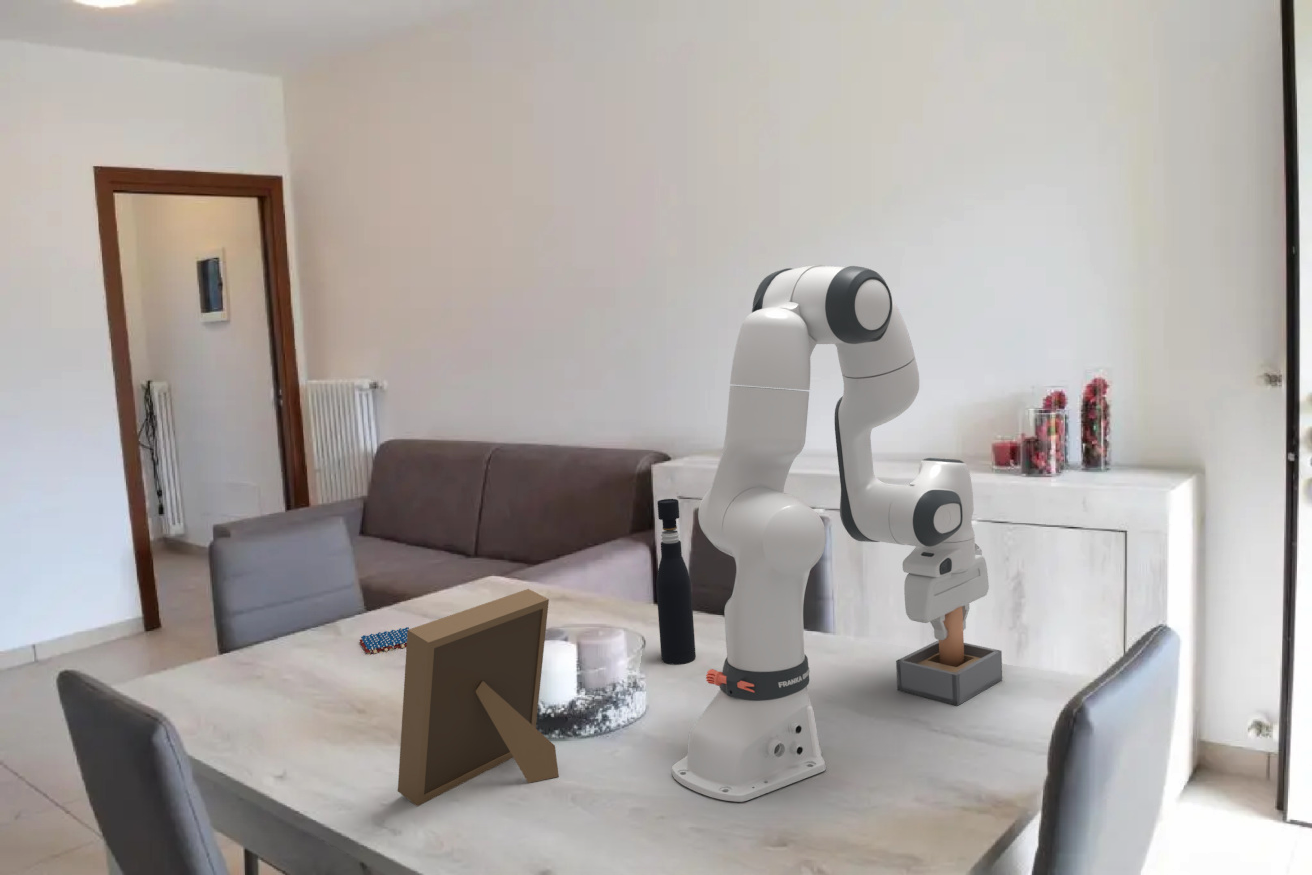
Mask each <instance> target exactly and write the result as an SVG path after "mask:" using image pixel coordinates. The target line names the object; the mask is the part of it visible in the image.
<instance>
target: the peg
mask: <svg viewBox="0 0 1312 875" xmlns="http://www.w3.org/2000/svg"><path fill="white" fill-rule="evenodd" d="M943 623H944V626H945V628H948V635H949V637H948V638H946V639H944V640H939V659H940V664H944V665H949V666H953V667H958V666H960V665H962V664H964V643H965V642H964V630H963V612H962V606H961V607H959V608H957V609H955V610H954V611H952V612H950V613H947V614H945V620H944V621H943Z"/></svg>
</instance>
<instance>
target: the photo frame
mask: <svg viewBox="0 0 1312 875" xmlns="http://www.w3.org/2000/svg"><path fill="white" fill-rule="evenodd" d="M549 600H550V599H549V598H547V597H545V596H543V595H541V594H539V593H537V592H535V591H534V590H532V589H529V588H527V589H523V590H521V591H517V592H514V593H512V594H509V595H506V596H503V597H500V598H498V599H497V598H496V599H495V600H492V601H489V602H486V603H482V604H479V605H477V606H474V607H471V608H468V609H465V610H462V611H459V612H456V613H453V614H450V615H448V616H444V617H441V618H438V619H436V620H433V621H429V622H427V623H424V624H420V625H417V626H415V627H413V628H412V627H411V628H409V630H408V629H407V630H408V632H407V647H405V648H406V652H405V653H406V655H405V663H404V664H405V666H404V667H405V668H404V682H403V683H404V684H403V697H402V698H403V699H402V702H403V703H402V715H401V716H402V717H401V719H402V720H401V731H400V732H401V733H400V745H399V746H400V748H399V749H400V750H399V763H398V764H399V765H398V781H397V792H398V793H399V794H400V795H402V796H403V797H405V799H407V800H408V801H410V803H412V804H414V805H415V806H416V807H419V806H421V805H423V804H424V803H427V802H430V801H431V800H432V799H434V798H437V797H438V796H441V795H443V794H444V793H447V792H448V791H450V790H452V789H454V788H456V787H459V786H460V785H463V784H464V783H466V782H468V781H470V780H472V779H474V778H476V777H478V776H480V775H482V774H485V773H486V772H488V771H490V770H491V769H494V768H495V767H498V766H500V765H501V764H504V763H506V762H507V761H510V760H512V759H514V761H515V763H516V764H517V766H518V768H519V769H520V771H521V773H522V775H523V776H524V778H525V780H526V782H527V783H528V784H530V783H534V782H535V783H537V782H540V781H544V780H548V779H550V780H551V779H554V778H558V777H559V768H558V760H557V754H556V753H557V752H556V751H557V750H556V745H555V744H554V742H551V740H549V738H547V737H546V736H545V735H544V734H543V733H542V732H540V731H539V730H538V729H537V721H538V719H537V718H538V712H539V711H538V710H539V709H538V708H539V700H540V690H541V680H542V679H541V678H542V670H543V669H542V668H543V660H544V651H545V642H546V641H545V640H546V630H547V620H548V613H549V611H548V610H549V602H550V601H549Z"/></svg>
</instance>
